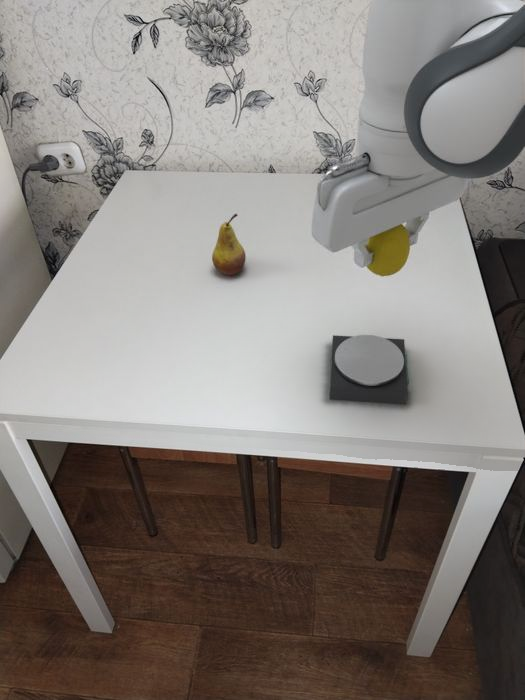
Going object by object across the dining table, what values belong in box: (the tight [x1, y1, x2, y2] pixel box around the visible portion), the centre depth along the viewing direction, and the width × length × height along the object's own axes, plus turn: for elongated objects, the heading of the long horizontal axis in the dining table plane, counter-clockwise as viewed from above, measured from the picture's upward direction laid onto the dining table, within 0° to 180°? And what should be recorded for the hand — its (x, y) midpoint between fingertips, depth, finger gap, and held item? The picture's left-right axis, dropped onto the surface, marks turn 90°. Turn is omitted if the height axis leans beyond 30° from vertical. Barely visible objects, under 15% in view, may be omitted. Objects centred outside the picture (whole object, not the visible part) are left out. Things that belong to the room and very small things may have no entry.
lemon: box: [364, 224, 411, 277], centre depth 70 cm, size 6×6×8 cm
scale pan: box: [335, 334, 404, 386], centre depth 79 cm, size 9×9×1 cm
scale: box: [329, 334, 410, 406], centre depth 81 cm, size 10×10×3 cm
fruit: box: [211, 213, 247, 276], centre depth 96 cm, size 6×6×12 cm
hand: (385, 253), depth 70 cm, fingers closed on lemon, 5 cm apart
